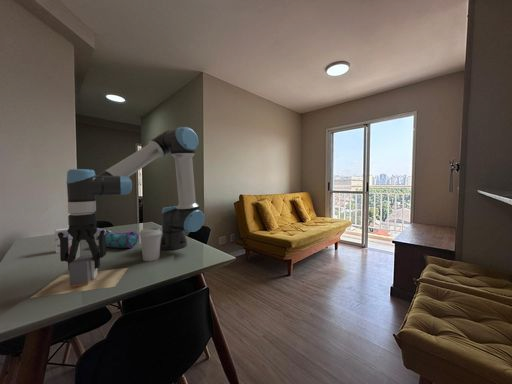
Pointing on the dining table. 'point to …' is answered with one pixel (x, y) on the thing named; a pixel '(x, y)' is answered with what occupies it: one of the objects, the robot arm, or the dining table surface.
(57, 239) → the ink box
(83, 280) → the block
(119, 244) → the pencil case
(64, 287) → the board
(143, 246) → the coffee cup
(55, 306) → the dining table surface
